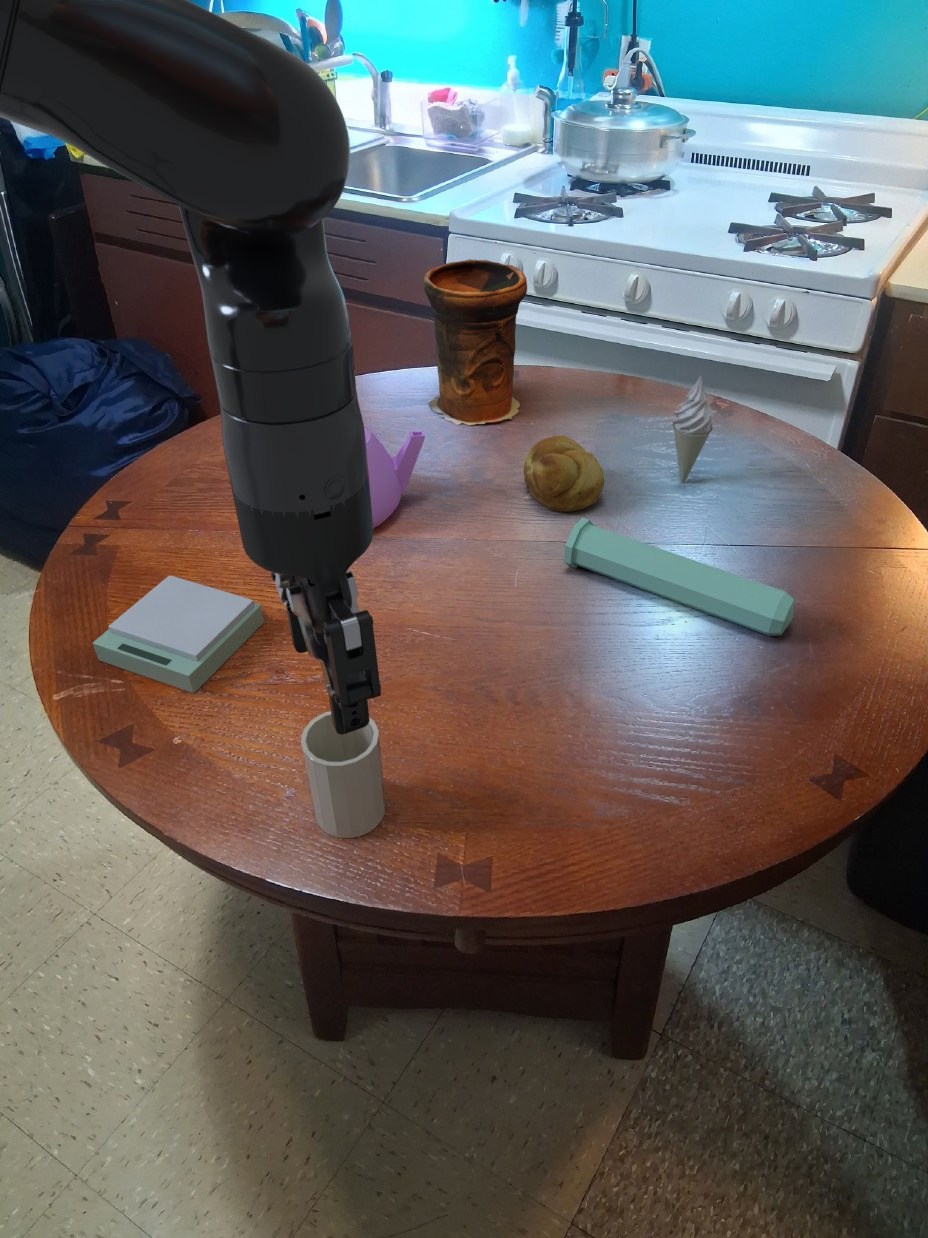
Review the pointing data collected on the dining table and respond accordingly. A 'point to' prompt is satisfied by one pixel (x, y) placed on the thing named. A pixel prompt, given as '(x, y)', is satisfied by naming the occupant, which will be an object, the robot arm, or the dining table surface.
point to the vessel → (475, 338)
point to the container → (680, 579)
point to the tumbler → (344, 777)
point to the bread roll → (563, 474)
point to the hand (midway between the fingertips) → (330, 685)
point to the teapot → (390, 473)
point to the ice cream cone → (692, 428)
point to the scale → (179, 633)
